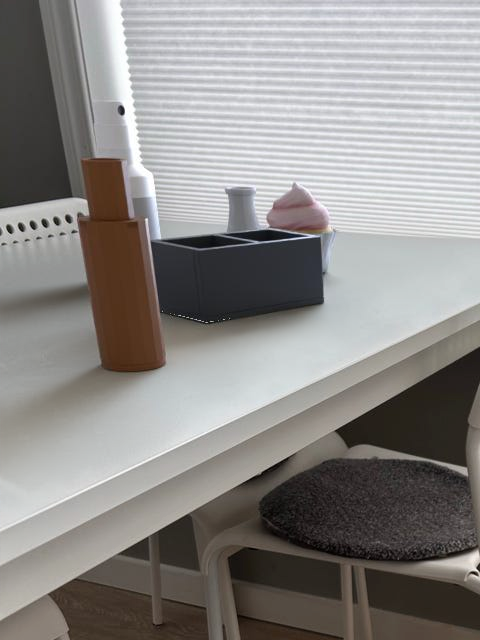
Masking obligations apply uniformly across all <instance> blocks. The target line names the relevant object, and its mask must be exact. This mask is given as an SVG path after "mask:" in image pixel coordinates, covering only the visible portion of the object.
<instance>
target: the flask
mask: <svg viewBox="0 0 480 640" xmlns="http://www.w3.org/2000/svg"><path fill="white" fill-rule="evenodd" d="M224 192H225V195H227V197H228V221H227V229H226V232H235V231H245V230H255V229H261V227H260V223H259V219H258V214H257V212H256V211H257V210H256V206H255V204H256V203H255V195H256V193H257V187H251V186H227V187H224Z"/></svg>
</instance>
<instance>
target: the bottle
mask: <svg viewBox="0 0 480 640" xmlns="http://www.w3.org/2000/svg"><path fill="white" fill-rule="evenodd" d="M79 161H80V166H81V171H82V177H83V185H84V190H85V196H86V203H87V209H88V214H86V215H81V216H79V217H77V218H76V222H77V229H78V234H79V240H80V246H81V252H82V253H81V254H82V258H83V264H84V271H85V277H86V283H87V288H88V293H89V299H90V305H91V312H92V318H93V323H94V329H95V335H96V341H97V348H98V354H99V359H100V362H101V366H102V368H104V369H106V370H109V371H114V372H144V371H151V370H155V369H158V368H161V367H163V366H164V365H165V366H166V363H167V360H166V349H165V341H164V340H165V339H164V331H163V326H162V318H161V312H160V309H159V302H158V294H157V287H156V279H155V272H154V264H153V257H152V249H151V242H150V234H149V227H148V219H147V218H146V217H144V216H139V215H134V209H133V202H132V195H131V188H130V181H129V174H128V166H127V160H126V159H120V158H98V157H84V158H80V159H79Z"/></svg>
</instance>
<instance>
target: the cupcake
mask: <svg viewBox="0 0 480 640" xmlns="http://www.w3.org/2000/svg"><path fill="white" fill-rule="evenodd" d="M265 219H266V222H267V224H268V225H269V226H265V227H264V228H272V229H278V230H284V231H291V232H297V233H303V234H309V235H315V236H320V237H321V250H322V270H323V273H326V272H328V270H329V266H330V260H331V255H332V252H333V251H332V250H333V246H334V243H335V240H336V239H337V236H338V233H339V231H340V229H336V228H335V227H332V226H329V224H330V214H329V211H328V208H326V207H325V205H323V204H322V203H321V202H319V201H317V200H315V198H314V196H313V195H312V193H311V192H310V191H309V190H308V189H307V188H305V187H304V186H303V185H301V184H298V183H297V182H296V181H293V182H292V186H291V189H290V190H288V191H287V192H285V193H284V194H282V195H281V196H279V197H277V198H276V199H275V200H274V201H273V203H272V208H271V209H270V210H269V211H268V212H267V213H266V217H265ZM264 228H262V229H264Z"/></svg>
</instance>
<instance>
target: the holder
mask: <svg viewBox="0 0 480 640" xmlns="http://www.w3.org/2000/svg"><path fill="white" fill-rule="evenodd" d="M150 242H151V249H152V257H153V264H154V272H155V279H156V287H157V294H158V302H159V309H160V313H163V314H167V315H171V316H174V317H179V318H183V319H186V320H190V321H193V322H198V323H202V324H206V325H207V324H214V323H219V322H224V321H230V320H235V319H241V318H246V317H251V316H257V315H263V314H268V313H269V314H270V313H275V312H279V311H287V310H290V309H296V308H301V307H302V308H303V307H307V306H312V305H313V306H314V305H318V304H324V303H325V297H324V296H325V294H324V275H323V273H324V272H323V270H322V250H321V237H320V236H315V235H309V234H303V233H297V232H291V231H284V230H278V229H272V228H266V227H264V229H263V228H260V229H255V230H245V231H235V232H227V231H226V232H218V233H207V234H196V235H186V236H178V237H166V238H161V239H156V240H150ZM162 311H163V312H162ZM166 312H167V313H166ZM170 313H171V314H170ZM174 314H175V315H174ZM178 315H181V316H178ZM182 316H185V317H182ZM186 317H189V318H186ZM190 318H193V319H197V320H201V321H204V322H201V321H197V320H193V319H190ZM229 318H230V319H229ZM223 319H225V320H223ZM218 320H219V321H218ZM210 321H214V322H210ZM205 322H208V323H205Z"/></svg>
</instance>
